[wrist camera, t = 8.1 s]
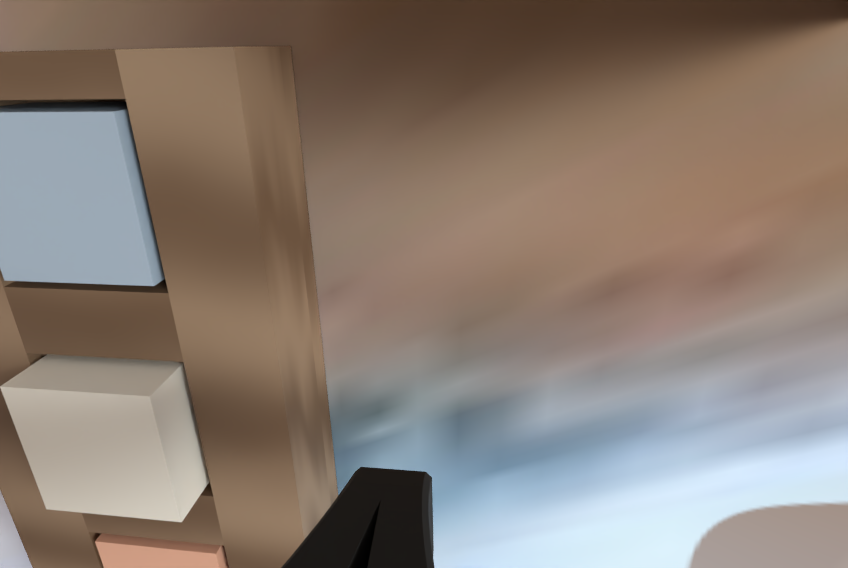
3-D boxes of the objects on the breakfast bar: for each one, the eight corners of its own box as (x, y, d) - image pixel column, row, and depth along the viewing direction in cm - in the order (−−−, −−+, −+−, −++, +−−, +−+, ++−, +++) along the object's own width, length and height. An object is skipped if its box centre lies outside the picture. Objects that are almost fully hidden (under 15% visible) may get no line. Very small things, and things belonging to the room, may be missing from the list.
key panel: (347, 587, 27) (323, 672, 23) (119, 562, 28) (62, 638, 25) (290, 46, 17) (233, 46, 14) (-48, 54, 19) (-180, 56, 15)
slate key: (203, 252, 19) (153, 286, 17) (72, 248, 20) (4, 280, 17) (175, 101, 17) (113, 111, 15) (31, 102, 18) (-54, 112, 15)
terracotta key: (265, 578, 26) (236, 642, 23) (164, 567, 26) (124, 628, 24) (249, 495, 24) (216, 553, 21) (140, 485, 24) (94, 541, 22)
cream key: (223, 460, 21) (181, 522, 18) (103, 451, 22) (46, 509, 19) (199, 346, 19) (149, 396, 17) (69, 339, 20) (0, 386, 17)
